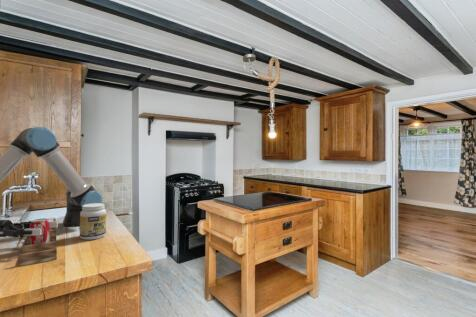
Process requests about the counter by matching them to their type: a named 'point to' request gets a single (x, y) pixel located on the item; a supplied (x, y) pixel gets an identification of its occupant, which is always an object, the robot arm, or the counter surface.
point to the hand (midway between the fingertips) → (49, 228)
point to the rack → (39, 251)
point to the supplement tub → (92, 221)
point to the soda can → (45, 233)
